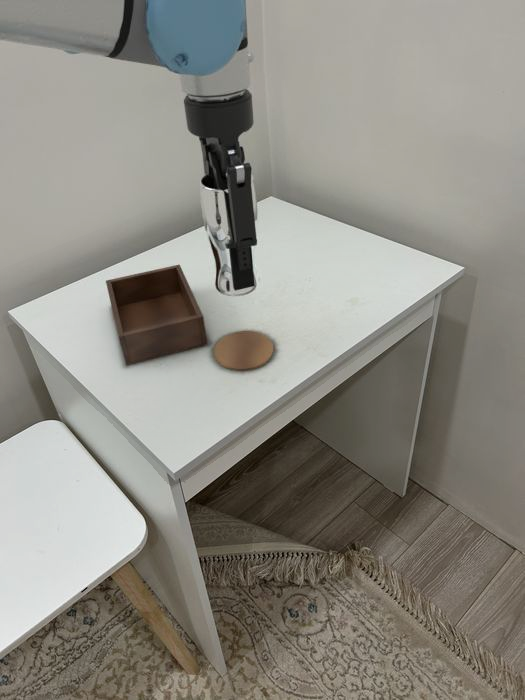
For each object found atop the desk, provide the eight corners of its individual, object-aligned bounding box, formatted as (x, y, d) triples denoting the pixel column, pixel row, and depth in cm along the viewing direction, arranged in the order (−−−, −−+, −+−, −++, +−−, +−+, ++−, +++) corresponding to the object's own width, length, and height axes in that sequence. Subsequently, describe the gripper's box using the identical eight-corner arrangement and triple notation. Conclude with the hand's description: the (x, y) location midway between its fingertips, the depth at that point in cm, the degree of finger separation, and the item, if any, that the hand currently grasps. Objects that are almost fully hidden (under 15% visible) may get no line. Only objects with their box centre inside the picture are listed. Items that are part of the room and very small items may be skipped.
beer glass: (204, 280, 76) (188, 176, 67) (248, 266, 79) (239, 163, 69) (225, 304, 71) (211, 195, 62) (271, 288, 74) (265, 181, 64)
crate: (126, 365, 82) (118, 337, 78) (113, 307, 94) (105, 280, 90) (207, 344, 84) (203, 316, 81) (184, 290, 97) (179, 264, 93)
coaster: (223, 377, 78) (223, 375, 78) (207, 341, 85) (207, 339, 85) (282, 361, 80) (281, 359, 80) (262, 327, 87) (262, 325, 87)
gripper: (280, 109, 53) (287, 304, 68) (225, 69, 67) (241, 237, 82) (205, 121, 51) (229, 319, 66) (166, 78, 66) (192, 248, 80)
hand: (236, 273), depth 74 cm, fingers closed on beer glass, 6 cm apart
